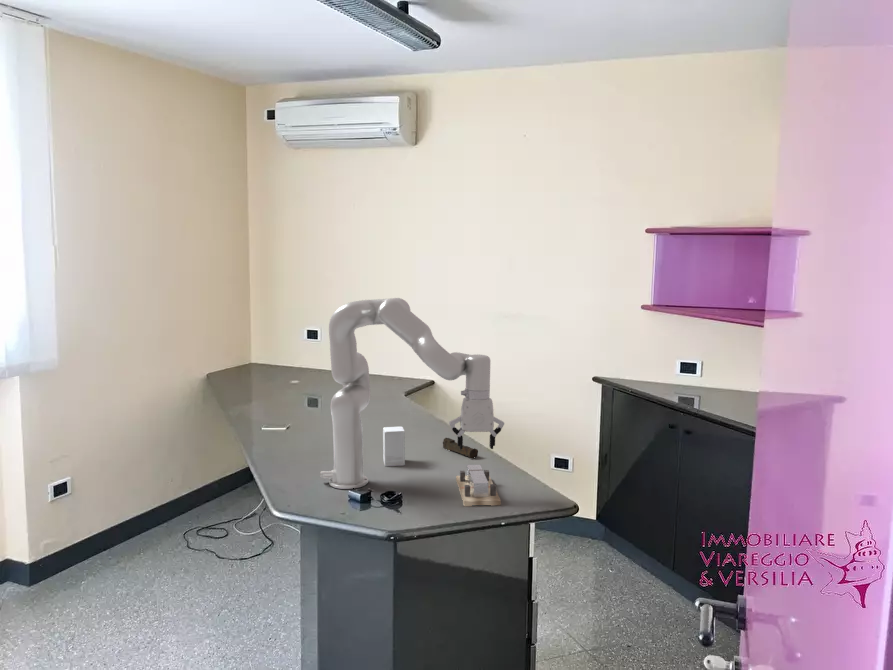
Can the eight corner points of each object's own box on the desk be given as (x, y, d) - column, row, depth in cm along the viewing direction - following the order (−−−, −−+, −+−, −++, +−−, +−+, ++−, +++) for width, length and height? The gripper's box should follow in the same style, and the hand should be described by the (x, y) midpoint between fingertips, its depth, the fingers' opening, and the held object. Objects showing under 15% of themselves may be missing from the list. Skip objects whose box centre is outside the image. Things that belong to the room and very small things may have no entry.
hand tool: (478, 458, 251) (478, 446, 250) (470, 460, 248) (470, 448, 248) (449, 447, 266) (449, 435, 265) (440, 448, 264) (440, 437, 263)
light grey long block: (473, 497, 204) (473, 483, 204) (466, 478, 222) (466, 465, 222) (488, 497, 205) (488, 482, 204) (480, 477, 223) (480, 464, 222)
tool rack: (464, 506, 201) (464, 491, 201) (456, 480, 225) (456, 467, 225) (500, 505, 202) (500, 490, 202) (488, 479, 226) (489, 466, 225)
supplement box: (405, 465, 241) (405, 430, 240) (384, 466, 240) (384, 431, 238) (403, 459, 248) (402, 425, 247) (383, 460, 247) (382, 426, 246)
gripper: (450, 397, 206) (449, 451, 208) (507, 397, 207) (505, 451, 209) (448, 392, 213) (447, 444, 215) (502, 392, 215) (501, 444, 217)
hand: (476, 448), depth 212 cm, fingers open, 9 cm apart
